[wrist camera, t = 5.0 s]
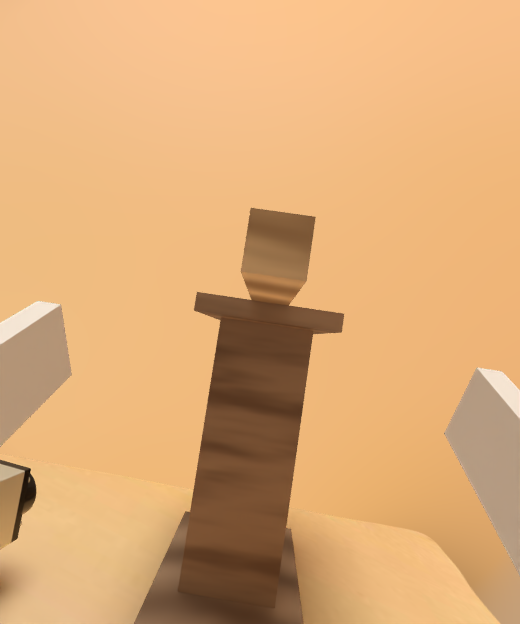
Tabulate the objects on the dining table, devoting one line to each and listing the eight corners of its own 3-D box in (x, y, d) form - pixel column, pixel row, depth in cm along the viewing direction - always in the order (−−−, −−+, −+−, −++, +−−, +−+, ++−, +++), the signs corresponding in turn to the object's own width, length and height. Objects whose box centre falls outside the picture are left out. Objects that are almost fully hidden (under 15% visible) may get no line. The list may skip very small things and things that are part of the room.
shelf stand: (307, 694, 25) (356, 315, 27) (122, 661, 25) (184, 290, 27) (288, 536, 45) (318, 324, 47) (185, 519, 45) (218, 309, 47)
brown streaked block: (306, 281, 15) (315, 216, 16) (240, 271, 15) (250, 207, 16) (279, 318, 45) (282, 296, 45) (257, 314, 45) (260, 292, 46)
